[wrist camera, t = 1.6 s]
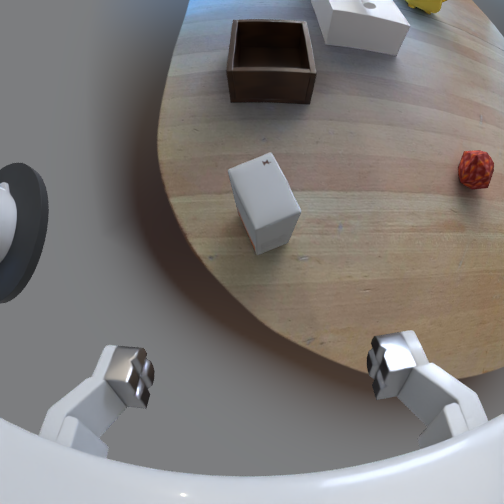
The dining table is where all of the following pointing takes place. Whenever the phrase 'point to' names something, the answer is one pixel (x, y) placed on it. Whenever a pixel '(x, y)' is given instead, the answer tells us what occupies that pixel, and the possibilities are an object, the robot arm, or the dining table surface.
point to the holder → (270, 62)
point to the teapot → (426, 5)
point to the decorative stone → (475, 169)
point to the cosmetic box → (264, 202)
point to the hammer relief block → (362, 24)
